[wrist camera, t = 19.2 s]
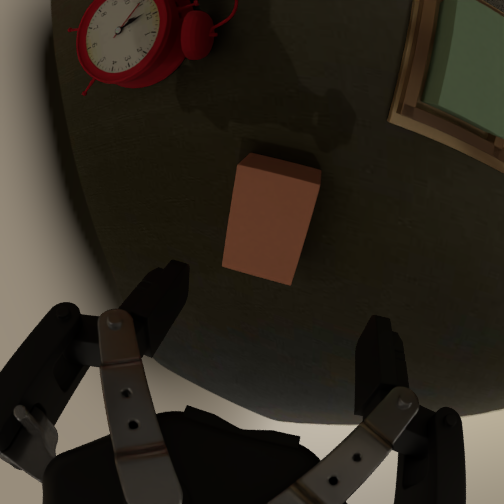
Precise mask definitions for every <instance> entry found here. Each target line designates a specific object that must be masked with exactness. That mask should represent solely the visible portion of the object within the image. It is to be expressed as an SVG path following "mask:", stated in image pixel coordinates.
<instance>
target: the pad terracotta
mask: <svg viewBox="0 0 504 504" xmlns="http://www.w3.org/2000/svg"><path fill="white" fill-rule="evenodd" d="M320 184H321V170H319V169H315V168H311V167H308V166H304V165H300V164H296V163H292V162H288V161H284V160H280V159H276V158H272V157H268V156H263V155H259V154H255V153H250V154H249V155H247V156H246V157H245V158H244V159H243V160H242V161H241V162H240V163H239V164H238V165H237V171H236V177H235V183H234V189H233V196H232V202H231V209H230V215H229V222H228V228H227V235H226V242H225V248H224V255H223V262H222V266H223V267H226V268H229V269H233V270H236V271H240V272H243V273H247V274H251V275H254V276H258V277H261V278H265V279H268V280H272V281H276V282H279V283H283V284H287V285H291V283H292V280H293V277H294V274H295V271H296V267H297V264H298V261H299V258H300V254H301V251H302V248H303V244H304V241H305V238H306V234H307V231H308V227H309V224H310V220H311V217H312V213H313V210H314V206H315V203H316V199H317V196H318V192H319V189H320Z"/></svg>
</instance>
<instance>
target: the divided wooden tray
mask: <svg viewBox="0 0 504 504" xmlns="http://www.w3.org/2000/svg"><path fill="white" fill-rule="evenodd" d="M442 1H444V0H413V3H412V9H411V15H410V21H409V26H408V32H407V37H406V42H405V47H404V52H403V57H402V62H401V66H400V71H399V75H398V79H397V84H396V88H395V92H394V96H393V100H392V104H391V108H390V112H389V115H388V119H387V121H388V122H390V123H392V124H395V125H398V126H400V127H403V128H406V129H408V130H411V131H414V132H416V133H419V134H421V135H424V136H426V137H429V138H431V139H433V140H436V141H438V142H440V143H443V144H445V145H447V146H449V147H452V148H454V149H456V150H458V151H460V152H463V153H465V154H467V155H469V156H471V157H473V158H475V159H477V160H479V161H481V162H483V163H485V164H487V165H489V166H491V167H492V168H494V169H496V170H498V171H500V172H502V173H503V174H504V139H502V138H499V137H497V136H495V135H492V134H490V133H487V132H485V131H483V130H481V129H479V128H477V127H475V126H473V125H471V124H469V123H467V122H465V121H463V120H461V119H459V118H457V117H455V116H453V115H451V114H448V113H446V112H444V111H442V110H440V109H437V108H435V107H433V106H430V105H428V104H426V103H423V102H421V99H422V94H423V90H424V86H425V82H426V78H427V73H428V69H429V64H430V59H431V54H432V49H433V44H434V38H435V33H436V27H437V20H438V13H439V6H440V2H442ZM476 1H478V2H480V3H482V4H483V5H485V6H487V7H489V8H490V9H492V10H493V11H495V12H497V13H498V14H500V15H501V16H503V17H504V13H503V12H501V11H500V10H498V9H496V8H495V7H493V6H492V5H490V4H488V3H487V2H485V1H483V0H476Z"/></svg>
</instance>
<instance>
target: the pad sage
mask: <svg viewBox="0 0 504 504" xmlns="http://www.w3.org/2000/svg"><path fill="white" fill-rule="evenodd" d="M421 102H423V103H426V104H428V105H430V106H433V107H435V108H437V109H440V110H442V111H444V112H446V113H448V114H451V115H453V116H455V117H457V118H459V119H461V120H463V121H465V122H467V123H469V124H471V125H473V126H475V127H477V128H479V129H481V130H483V131H485V132H487V133H490V134H492V135H495V136H497V137H499V138H502V139H504V17H503V16H501V15H500V14H498V13H497V12H495V11H493V10H492V9H490V8H489V7H487V6H485V5H483V4H482V3H480V2H478V1H476V0H444V1H442V2H440V6H439V13H438V20H437V27H436V33H435V38H434V44H433V49H432V54H431V59H430V64H429V69H428V73H427V78H426V82H425V86H424V90H423V94H422V99H421Z"/></svg>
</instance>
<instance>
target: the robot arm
mask: <svg viewBox="0 0 504 504" xmlns="http://www.w3.org/2000/svg"><path fill="white" fill-rule="evenodd" d="M189 269H190V268H189V264H186V263H183V262H179V261H176V260H171V261H170V262H169V263H168V265H167V266H166V267H165V268H164V269H162V268H159V267H158V268H156V269H154V270H152V271H151V272H149V273H148V274H147V275H146V276H145V277H144V278H143V280H142V282H140V283H139V284H138V285H137V288H135V289H134V290H133V291H132V293H131V294H130V295H129V296H128V297H127V299H126V300H125V301H124V302H123V303H122V305H121V306H120V307H119V308H118V309H111V310H107V311H105V312H104V313H102V314H101V315H100V316H91V315H82V314H80V310H79V308H78V307H77V306H76V305H75V304H73V303H70V302H63V303H59V304H57V305H55V306H54V307H52V308H51V310H50V311H49V312H48V313H47V314H46V315H45V316H44V318H43V319H42V320H41V321H40V322H39V324H38V325H37V326H36V327H35V328H34V330H33V331H32V332H31V333H30V334H29V336H28V337H27V338H26V339H25V341H24V342H23V343H22V344H21V346H20V347H19V348H18V349H17V351H16V352H15V353H14V355H13V356H12V357H11V358H10V360H9V361H8V362H7V364H6V365H5V366H4V368H3V369H2V371H1V372H0V458H1V459H2V460H4V461H5V462H7V463H9V464H10V465H12V466H13V467H14V468H16V469H19V470H23V471H25V472H26V473H28V474H29V475H31V476H32V477H33V478H35V479H37V480H38V481H39V482H41V483H42V486H43V504H347V503H346V500H347V499H348V498H349V497H350V496H351V495H352V494H353V493H354V492H355V491H356V490H357V489H358V488H359V487H360V486H361V485H362V484H363V483H364V482H365V480H366V479H367V478H368V477H369V476H370V475H371V474H372V472H374V470H375V469H376V468H377V467H378V466H379V465H380V464H381V462H382V461H383V460H384V459H385V457H386V456H387V455H388V454H389V452H390V451H391V450H394V451H396V452H398V466H397V479H396V490H395V499H394V504H466V470H465V451H464V440H463V430H462V421H461V418H460V416H459V414H458V413H457V412H456V411H455V410H454V409H452V408H449V407H443V408H440V409H439V410H438V411H437V412H434V411H431V410H429V409H427V408H425V407H423V406H421V405H419V400H418V397H417V396H416V394H415V393H414V392H413V391H412V390H410V389H409V383H408V375H407V367H406V361H405V354H404V347H403V342H402V340H401V338H400V337H399V335H398V333H397V332H393V331H392V328H391V322H390V319H389V318H385V317H381V316H377V315H372V316H371V318H370V320H369V322H368V323H367V325H366V327H365V329H364V331H363V332H362V334H361V336H360V338H359V340H358V342H357V346H356V351H355V409H354V415H360V416H363V421H362V422H361V423H360V424H359V425H358V426H357V427H356V428H355V429H354V430H353V431H352V432H351V433H350V434H349V435H348V436H347V437H346V438H345V439H344V440H343V441H342V442H341V443H340V444H339V445H338V446H337V447H336V448H335V449H333V451H331V452H330V453H329V454H328V455H327V456H326V457H325V458H323V459H322V460H321V461H320V459H319V458H318V457H317V456H316V455H315V454H314V453H313V452H311V451H310V450H309V449H307V448H306V447H304V446H302V445H300V444H299V441H300V436H295V435H291V434H286V433H282V432H277V431H272V430H243V429H240V428H238V427H236V426H234V425H232V424H230V423H229V422H227V421H225V420H223V419H222V418H220V417H218V416H216V415H215V414H212V413H209V412H206V411H203V410H199V409H197V408H194V407H191V406H188V405H187V406H186V408H185V411H184V412H181V411H171V412H163V413H158V414H156V413H155V410H154V406H153V402H152V398H151V395H150V391H149V387H148V384H147V379H146V376H145V372H144V367H143V363H142V359H141V358H142V357H143V355H146V356H149V357H151V358H152V357H153V355H154V354H155V352H156V350H157V349H158V347H159V345H160V344H161V342H162V341H163V339H164V337H165V336H166V334H167V332H168V331H169V329H170V327H171V326H172V324H173V323H174V321H175V319H176V318H177V316H178V314H179V313H180V311H181V310H182V308H183V306H184V305H185V303H186V300H187V297H188V289H189ZM90 366H94V367H100V377H101V384H102V390H103V397H104V403H105V409H106V415H107V420H108V426H109V431H110V434H109V435H107V436H105V437H102V438H99V439H97V440H94V441H92V442H90V443H87V444H84V445H82V446H79V447H76V448H74V449H71V450H68V451H66V452H63V453H61V454H59V455H57V456H56V453H55V449H56V444H57V442H58V433H57V430H56V428H55V427H54V425H55V424H56V422H57V420H58V418H59V417H60V415H61V413H62V411H63V410H64V408H65V406H66V405H67V403H68V401H69V400H70V398H71V396H72V395H73V393H74V391H75V390H76V388H77V386H78V385H79V383H80V381H81V380H82V378H83V377H84V375H85V373H86V372H87V370H88V369H89V367H90Z"/></svg>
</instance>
